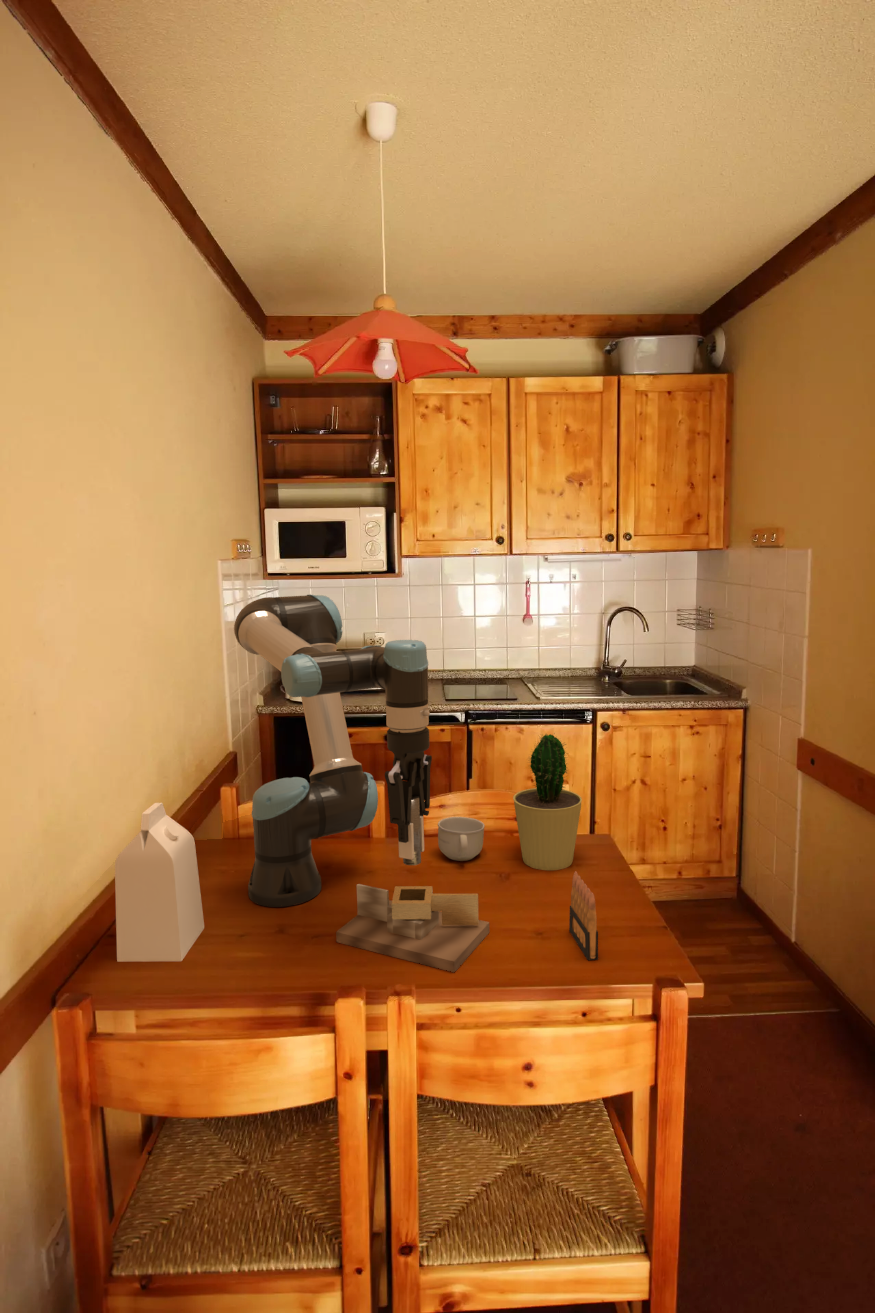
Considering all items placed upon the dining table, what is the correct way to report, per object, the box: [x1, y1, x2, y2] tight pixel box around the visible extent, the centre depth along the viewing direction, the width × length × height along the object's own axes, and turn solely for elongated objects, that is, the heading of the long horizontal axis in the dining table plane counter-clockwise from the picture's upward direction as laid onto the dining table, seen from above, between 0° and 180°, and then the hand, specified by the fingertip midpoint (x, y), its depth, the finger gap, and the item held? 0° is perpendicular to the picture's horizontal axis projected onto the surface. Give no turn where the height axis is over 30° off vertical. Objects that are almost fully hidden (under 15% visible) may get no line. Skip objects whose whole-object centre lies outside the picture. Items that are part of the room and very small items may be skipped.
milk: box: [114, 802, 205, 963], centre depth 137 cm, size 12×12×26 cm
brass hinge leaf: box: [391, 885, 479, 925], centre depth 139 cm, size 16×7×6 cm, turn 88°
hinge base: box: [335, 883, 490, 973], centre depth 139 cm, size 24×15×8 cm, turn 63°
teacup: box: [437, 816, 485, 862], centre depth 174 cm, size 14×11×8 cm
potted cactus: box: [512, 732, 583, 871], centre depth 171 cm, size 15×15×30 cm
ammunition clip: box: [568, 870, 599, 961], centre depth 135 cm, size 11×2×12 cm, turn 8°
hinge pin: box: [402, 795, 422, 866], centre depth 137 cm, size 3×3×12 cm
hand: (411, 853), depth 137 cm, fingers closed on hinge pin, 3 cm apart
